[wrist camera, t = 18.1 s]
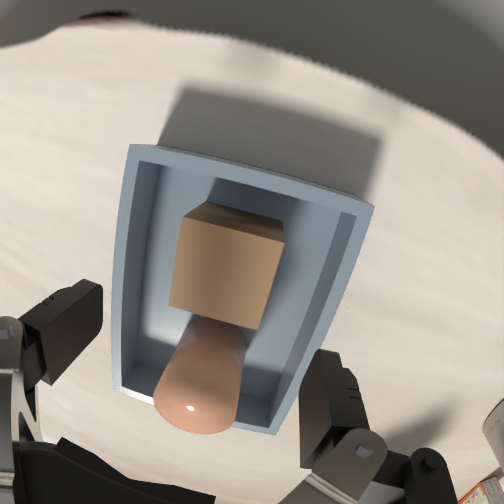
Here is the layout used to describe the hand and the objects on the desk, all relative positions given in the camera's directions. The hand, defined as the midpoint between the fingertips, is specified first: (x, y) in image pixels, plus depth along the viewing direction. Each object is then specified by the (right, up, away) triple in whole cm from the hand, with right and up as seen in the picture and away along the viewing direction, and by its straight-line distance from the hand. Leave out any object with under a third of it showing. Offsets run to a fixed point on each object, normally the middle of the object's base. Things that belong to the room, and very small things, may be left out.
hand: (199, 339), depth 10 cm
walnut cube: (+1, +3, +10) cm, 10 cm away
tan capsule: (-1, -4, +12) cm, 13 cm away
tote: (0, 0, +11) cm, 11 cm away
